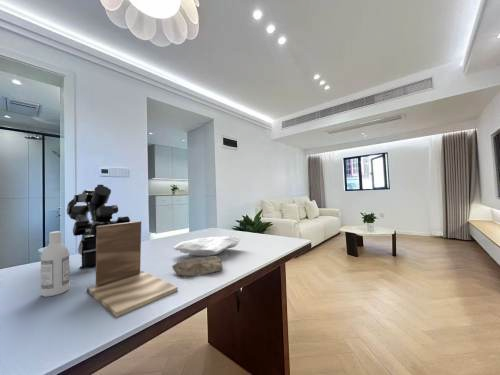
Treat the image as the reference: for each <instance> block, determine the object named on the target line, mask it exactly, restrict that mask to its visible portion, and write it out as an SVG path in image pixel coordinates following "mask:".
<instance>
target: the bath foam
mask: <svg viewBox="0 0 500 375" xmlns="http://www.w3.org/2000/svg"><path fill="white" fill-rule="evenodd" d="M48 233H49V235H48V236H49V239H48V241H49V243H48V245H47V246H46V247H45V249H44V250H43V251H42V253H41V257H40V291H41V292H40V294H41V296H43V297H44V298H45V297H46V298H47V297H53V296H54V297H55V296H58V295H60V294H64V293H65V292H67V291H68V290H69V289H70V253H69V250H68V247H67V246H65V244H64V243H63V242H62V231H59V230H55V231H50V232H48Z"/></svg>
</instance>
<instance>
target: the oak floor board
mask: <svg viewBox="0 0 500 375" xmlns="http://www.w3.org/2000/svg"><path fill="white" fill-rule="evenodd" d="M86 292H88V293H89V294H90V295H91V296H92V297H93V298H94V299H95V300H97V301H98V302H99V303H100V304H101V305H103V307H104V308H106V310H108V311H109V312H110V313H111V314H113V316H114V317H116V318H118V317H120V316H123V315H124V314H127V313H130V312H132V311H134V310H136V309H138V308H141V307H143V306H145V305H147V304H150V303H152V302H155V301H157V300H159V299H162V298H164V297H167V296H168V295H171V294H173V293H176V292H178V286H177V285H173V284H172V283H170V282H167V281H165V280H163V279H161V278H159V277H157V276H154V275H152V274H150V273H148V272H146V271H144V270H140V273H139V274H136V275H133V276H129V277H126V278H123V279H120V280H117V281H113V282H110V283H107V284H104V285H100V286H96V284H93V285H90V286H87V287H86Z"/></svg>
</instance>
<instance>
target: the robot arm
mask: <svg viewBox="0 0 500 375" xmlns="http://www.w3.org/2000/svg"><path fill="white" fill-rule="evenodd" d="M111 193H112V189H110V188H109V187H107V186H104V184H97V186H95V187H94V189H85V190H83V191H82V193H78V194H74V196H73V198H72V199H71V200H70V201H69V202H68V204H67V208H66V214H67V215H68V217H69V219H71V220H74V221H75V222H74V224H73V227H72V233H73V234H72V235H73V236H75V237H77V236H81V240H80V242H79V244H78V248H77V252H78V254H79V255H81V265H80V266H79V269H90V268H96V226H102V225H110V224H119V223H127V222H131V219H130V217H129V216H127V215H126V216H119V217H117V220H112V219H113V215H114V214H117V213H118V212H119V207H118V205H117V204H112V205H106V204H108V200H109V199H110V196H111ZM77 203H83V204H77ZM88 213H90V216H91V218H90V220H91V221H92V222H91V221H90V220H89V217H88V216H89V214H88Z"/></svg>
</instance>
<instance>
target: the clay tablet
mask: <svg viewBox="0 0 500 375" xmlns="http://www.w3.org/2000/svg"><path fill="white" fill-rule="evenodd" d="M222 261H223V260H222V259H221V257H220V256H215V255H211V256H200V257H195V258H194V257H193V258H189V259H184V260H180V261H178V262H175V263H174V264H173V265H172V266H171V267H172V270H173V271H174V272H175V274H176V275H177V276H183V277H199V276H203V275H207V274H212V273H217V272H220V271H222V270H223V264H222Z"/></svg>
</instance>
